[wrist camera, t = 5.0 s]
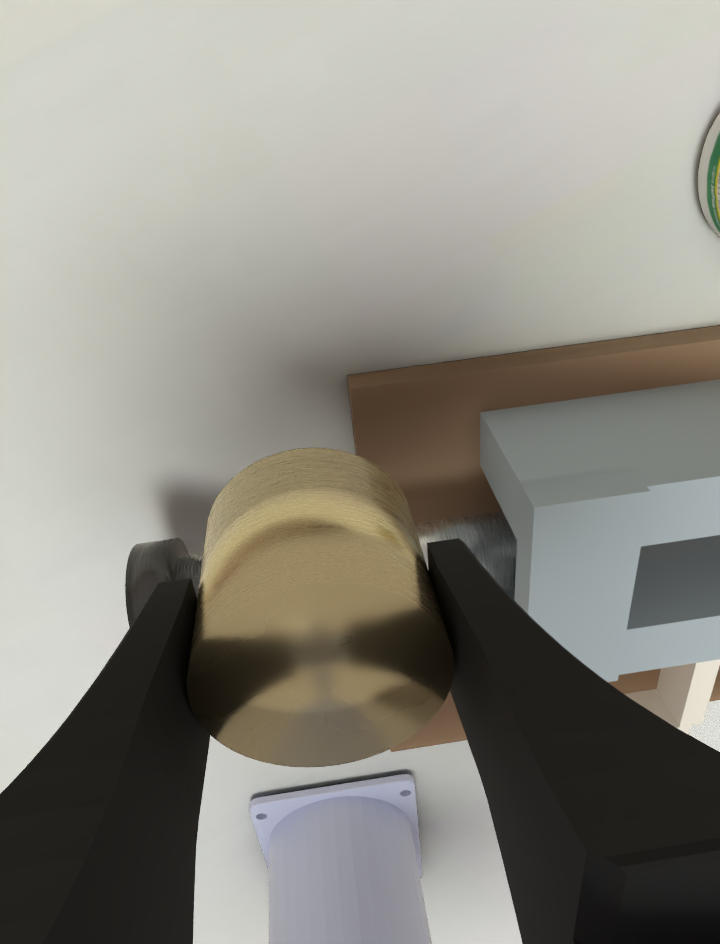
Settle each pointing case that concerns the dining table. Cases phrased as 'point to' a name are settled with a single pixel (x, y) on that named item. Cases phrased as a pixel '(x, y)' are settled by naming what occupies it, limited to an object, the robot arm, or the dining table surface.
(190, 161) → the dining table surface
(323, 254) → the dining table surface
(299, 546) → the cylinder
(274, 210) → the dining table surface
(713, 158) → the supplement bottle
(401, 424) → the walnut board
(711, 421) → the block
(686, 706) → the collar
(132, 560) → the shaft
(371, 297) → the dining table surface
